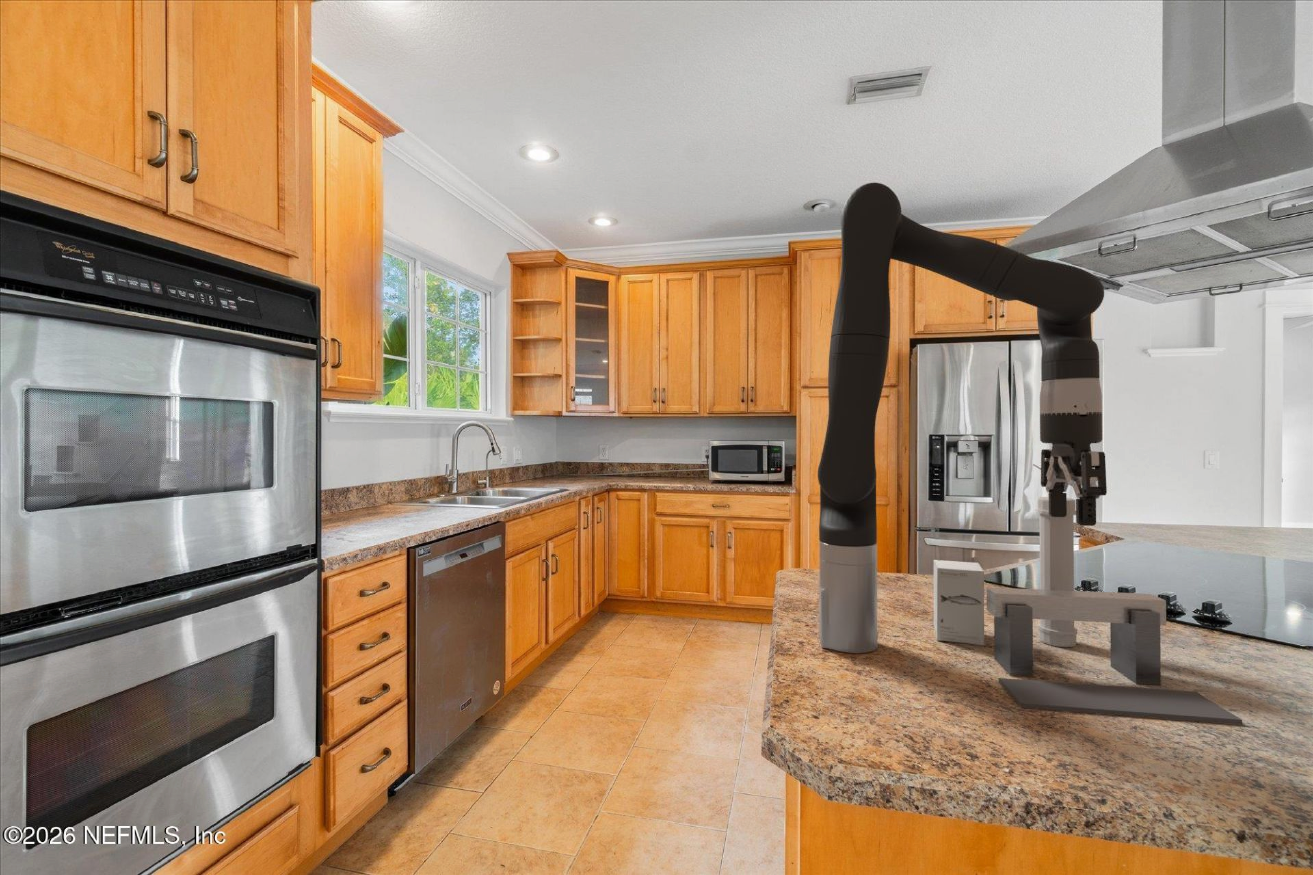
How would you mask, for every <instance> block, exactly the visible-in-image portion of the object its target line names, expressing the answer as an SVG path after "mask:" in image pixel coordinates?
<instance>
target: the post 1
mask: <svg viewBox="0 0 1313 875" xmlns="http://www.w3.org/2000/svg"><path fill="white" fill-rule="evenodd" d="M1033 620H1034V619H1033V608H1032V607H1031V606H1022V605H1007V618H1005V617H994V616H993V625H994V626H993V631H994V633H993V636H994V637H993V639H994V640H993V642H994V645H993V646H994V651H993V653H994V654H993V655H994V657H993V658H994V660H995V662H997V663H998V664H999V666H1001V667H1002V668H1003V670H1005V672H1006V673H1007V674H1009V676H1014V677H1027V678H1028V677H1029V678H1033V677H1034V628H1033V627H1034V624H1033V622H1034V621H1033Z"/></svg>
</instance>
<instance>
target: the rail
mask: <svg viewBox="0 0 1313 875" xmlns="http://www.w3.org/2000/svg"><path fill="white" fill-rule="evenodd" d="M1007 605H1022V606H1031V607H1032V608H1033V620H1040V619H1046V620H1067V621H1074V622H1087V623H1088V622H1089V623H1092V622H1093V623H1128V624H1131V610H1134V611H1156V612H1158V613H1160V626H1167V600H1165V599H1163V598H1161V597H1158V596H1156V595H1154V594H1152V593H1140V592H1139V593H1135V592H1110V591H1088V590H1085V591H1083V590H1074V591H1064V590H1040V589H1036V588H1035V589H1034V588H1011V587H1008V588H1007V587H986V611H987V612H988V613H990V615H992V617H993V618H994V617H1005V618H1007Z"/></svg>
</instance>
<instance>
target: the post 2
mask: <svg viewBox="0 0 1313 875" xmlns="http://www.w3.org/2000/svg"><path fill="white" fill-rule="evenodd" d="M1109 626H1110V629H1109V630H1110V631H1109V632H1110V667H1111V668H1113V669H1114V670H1116V671H1117V673H1118V672H1119V673H1120V674H1121V675H1123V676H1124V677H1125V678H1127V679H1128V680H1130V681H1131V682H1133V683H1134V684H1137V685H1146V686H1147V685H1148V686H1149V685H1150V686H1162V676H1161V674H1162V673H1161V672H1162V670H1161V669H1162V668H1161V666H1162V664H1161V661H1162V660H1161V649H1162V648H1161V625H1160V613H1158V612H1156V611H1134V610H1131V624H1128V623H1110V625H1109Z"/></svg>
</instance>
